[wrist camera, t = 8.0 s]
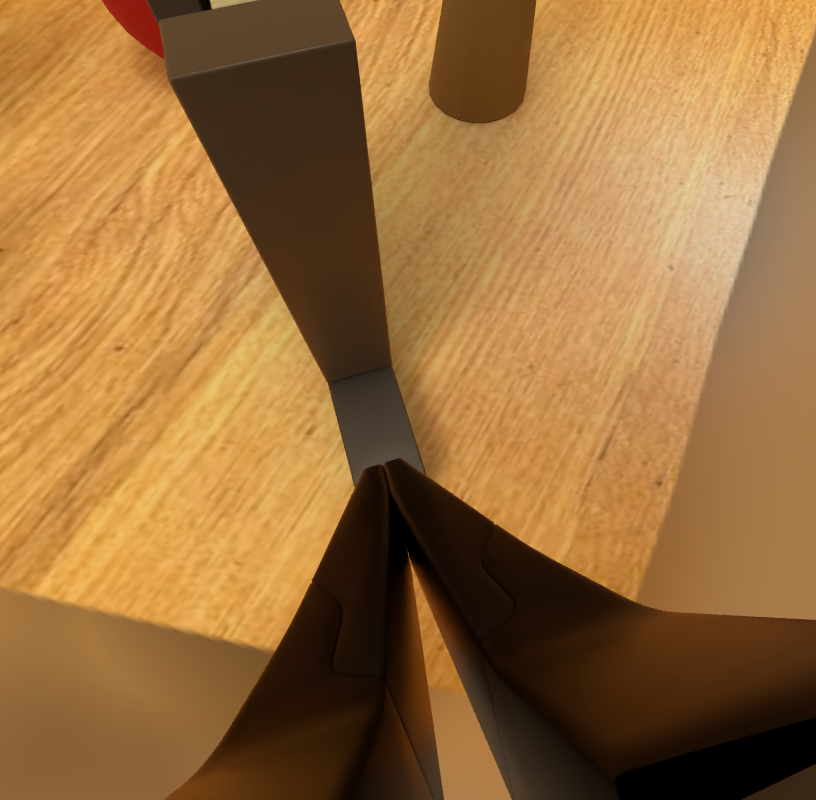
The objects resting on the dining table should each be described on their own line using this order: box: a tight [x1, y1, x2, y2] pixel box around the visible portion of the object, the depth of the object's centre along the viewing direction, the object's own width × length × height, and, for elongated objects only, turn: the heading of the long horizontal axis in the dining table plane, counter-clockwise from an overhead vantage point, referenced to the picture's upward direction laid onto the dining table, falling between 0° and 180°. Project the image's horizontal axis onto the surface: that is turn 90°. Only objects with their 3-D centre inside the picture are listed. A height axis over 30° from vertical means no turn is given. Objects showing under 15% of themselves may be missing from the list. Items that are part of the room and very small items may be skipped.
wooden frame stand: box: [146, 0, 426, 487], centre depth 14 cm, size 17×4×15 cm, turn 17°
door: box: [159, 0, 392, 382], centre depth 14 cm, size 10×3×13 cm, turn 17°
